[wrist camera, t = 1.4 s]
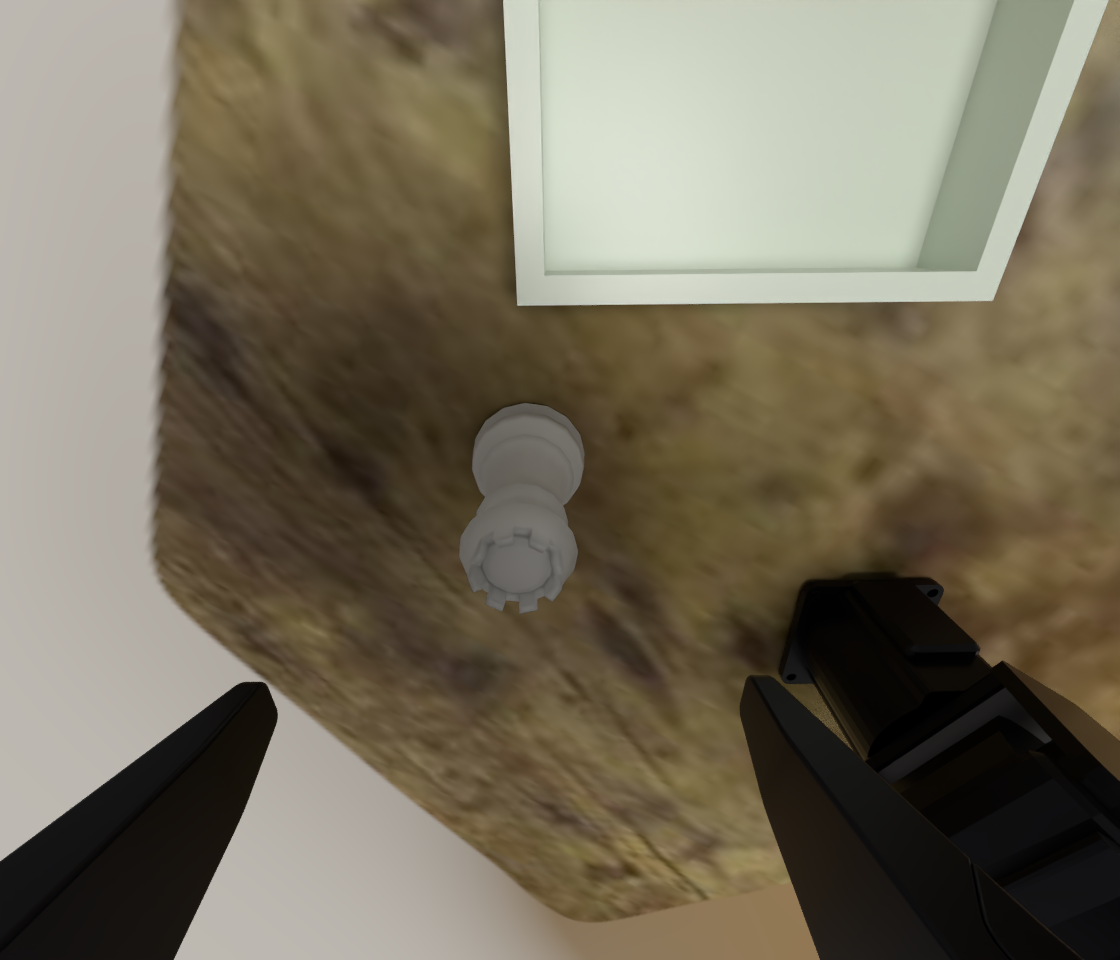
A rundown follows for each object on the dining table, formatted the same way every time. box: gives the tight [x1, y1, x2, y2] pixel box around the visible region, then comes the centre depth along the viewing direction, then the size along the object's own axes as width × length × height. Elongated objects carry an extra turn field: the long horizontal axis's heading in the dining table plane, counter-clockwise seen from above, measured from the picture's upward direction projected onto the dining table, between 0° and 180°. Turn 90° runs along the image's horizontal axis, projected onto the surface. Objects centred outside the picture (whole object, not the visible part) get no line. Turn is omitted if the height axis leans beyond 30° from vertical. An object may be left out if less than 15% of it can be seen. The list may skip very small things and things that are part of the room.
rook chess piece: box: [459, 403, 585, 614], centre depth 16 cm, size 4×4×8 cm
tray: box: [503, 0, 1108, 306], centre depth 12 cm, size 14×14×3 cm
